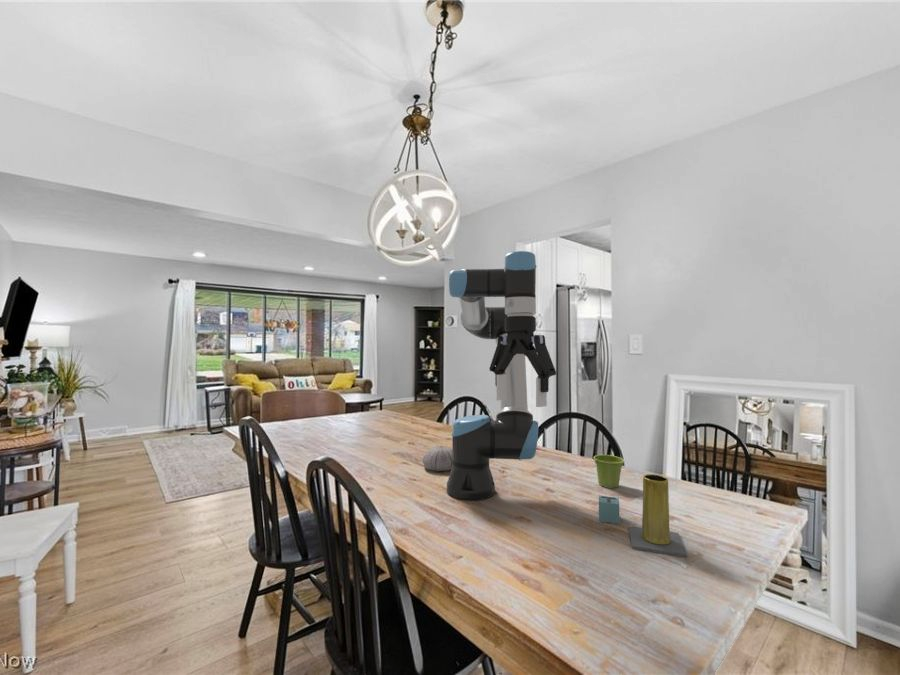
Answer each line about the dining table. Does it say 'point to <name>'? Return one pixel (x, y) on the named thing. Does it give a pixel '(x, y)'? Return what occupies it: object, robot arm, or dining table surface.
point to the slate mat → (672, 548)
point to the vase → (655, 510)
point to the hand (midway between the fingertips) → (520, 403)
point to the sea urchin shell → (438, 459)
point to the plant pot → (608, 470)
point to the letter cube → (609, 509)
